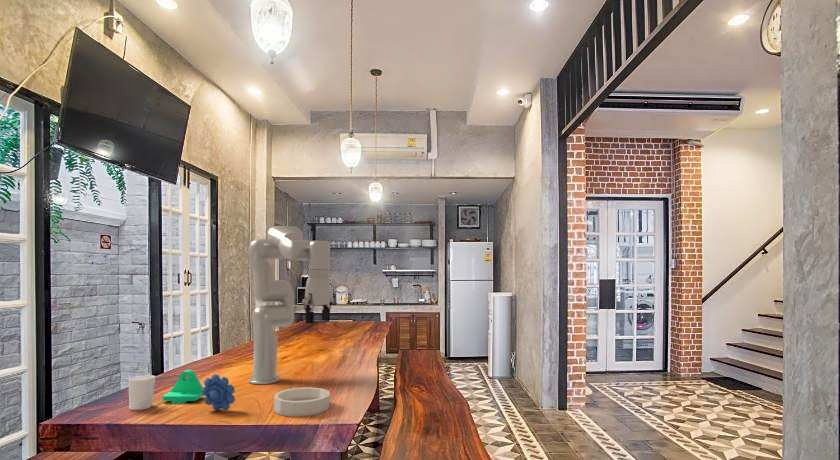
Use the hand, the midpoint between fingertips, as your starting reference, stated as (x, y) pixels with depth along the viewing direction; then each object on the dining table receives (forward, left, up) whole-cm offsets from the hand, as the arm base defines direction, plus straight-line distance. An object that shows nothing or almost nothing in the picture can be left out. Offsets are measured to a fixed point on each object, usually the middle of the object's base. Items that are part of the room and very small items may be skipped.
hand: (317, 321), depth 174 cm
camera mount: (-12, -47, -29) cm, 56 cm away
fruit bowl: (+6, -5, -29) cm, 30 cm away
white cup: (-6, -59, -29) cm, 66 cm away
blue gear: (+4, -33, -29) cm, 44 cm away
